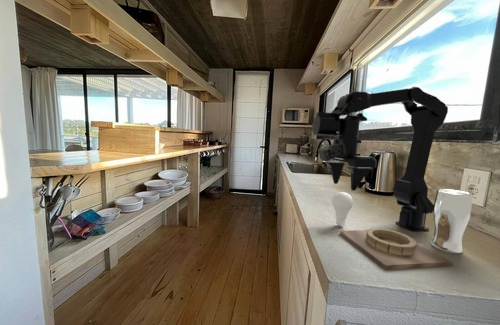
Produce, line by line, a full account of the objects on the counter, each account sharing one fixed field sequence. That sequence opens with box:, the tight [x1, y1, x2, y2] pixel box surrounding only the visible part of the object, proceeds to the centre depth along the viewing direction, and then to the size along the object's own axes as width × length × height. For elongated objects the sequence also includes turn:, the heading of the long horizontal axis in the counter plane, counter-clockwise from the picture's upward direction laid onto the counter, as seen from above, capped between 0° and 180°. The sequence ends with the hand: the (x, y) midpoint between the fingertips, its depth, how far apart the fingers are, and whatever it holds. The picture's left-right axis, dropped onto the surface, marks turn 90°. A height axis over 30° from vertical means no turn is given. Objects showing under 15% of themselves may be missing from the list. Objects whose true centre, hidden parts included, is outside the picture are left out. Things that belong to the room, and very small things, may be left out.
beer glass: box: [430, 188, 473, 254], centre depth 55 cm, size 7×7×15 cm
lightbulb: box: [331, 191, 354, 227], centre depth 67 cm, size 6×6×11 cm
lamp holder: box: [339, 227, 454, 271], centre depth 54 cm, size 17×17×3 cm
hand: (343, 186), depth 66 cm, fingers open, 9 cm apart
